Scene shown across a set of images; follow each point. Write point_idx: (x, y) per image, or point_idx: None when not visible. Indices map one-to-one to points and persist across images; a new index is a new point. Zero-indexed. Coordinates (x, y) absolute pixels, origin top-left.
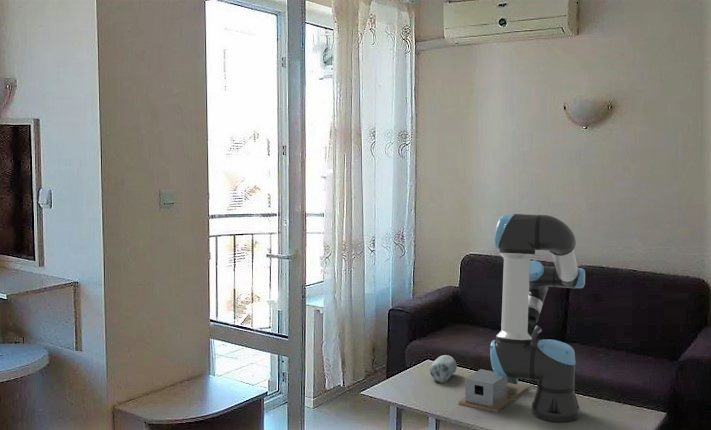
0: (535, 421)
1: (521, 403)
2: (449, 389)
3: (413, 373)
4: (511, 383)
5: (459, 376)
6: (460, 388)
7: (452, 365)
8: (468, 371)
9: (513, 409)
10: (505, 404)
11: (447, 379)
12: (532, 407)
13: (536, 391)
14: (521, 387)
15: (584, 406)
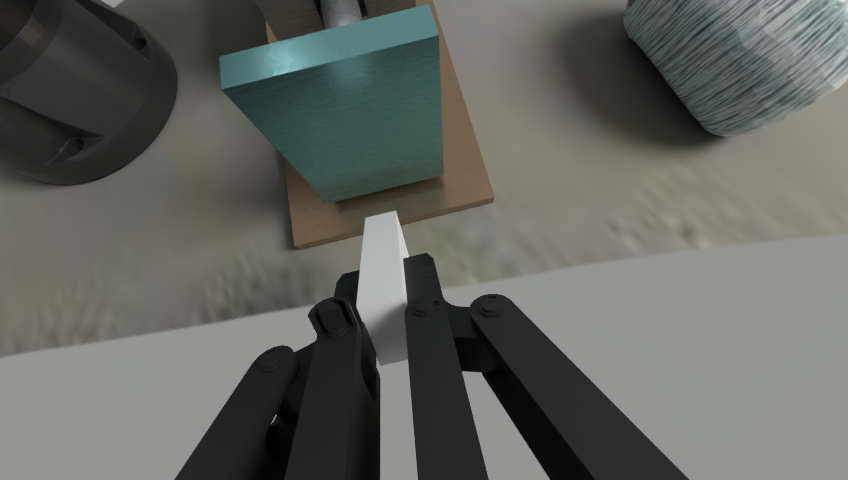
0: (130, 10)
1: None
2: (548, 4)
3: None
4: (377, 214)
5: (660, 144)
6: (526, 41)
7: (674, 4)
8: (700, 237)
9: (235, 31)
10: (266, 23)
11: (626, 31)
12: (141, 26)
13: (85, 9)
14: (308, 203)
15: (12, 242)
